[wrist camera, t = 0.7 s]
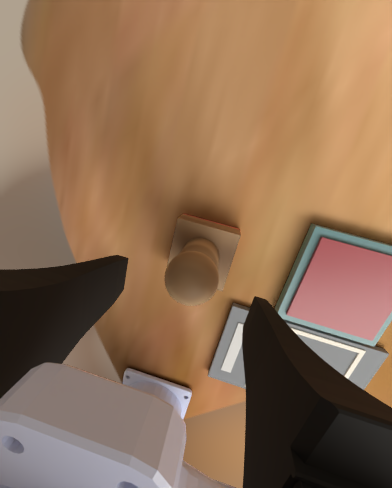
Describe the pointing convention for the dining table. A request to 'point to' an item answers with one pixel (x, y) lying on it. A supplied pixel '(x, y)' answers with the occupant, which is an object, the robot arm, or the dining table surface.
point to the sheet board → (322, 343)
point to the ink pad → (340, 285)
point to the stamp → (199, 259)
